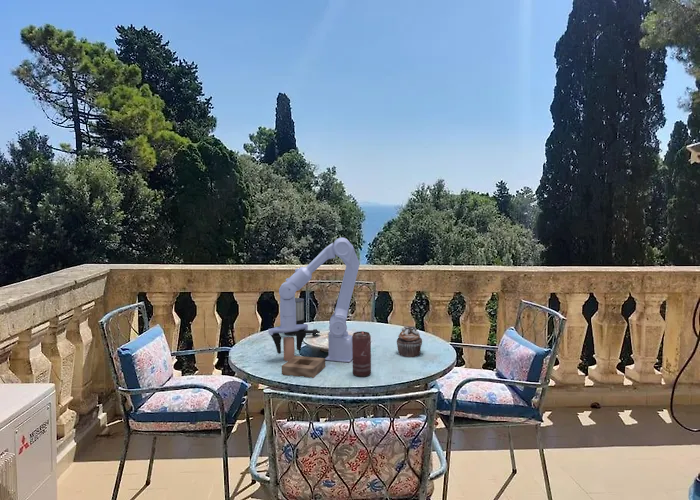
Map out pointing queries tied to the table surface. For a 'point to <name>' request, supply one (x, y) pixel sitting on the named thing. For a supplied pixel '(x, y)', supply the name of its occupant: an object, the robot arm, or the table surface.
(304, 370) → the socket block
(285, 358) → the peg
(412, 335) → the cupcake
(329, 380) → the table surface
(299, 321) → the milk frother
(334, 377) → the table surface
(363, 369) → the can
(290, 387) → the table surface
